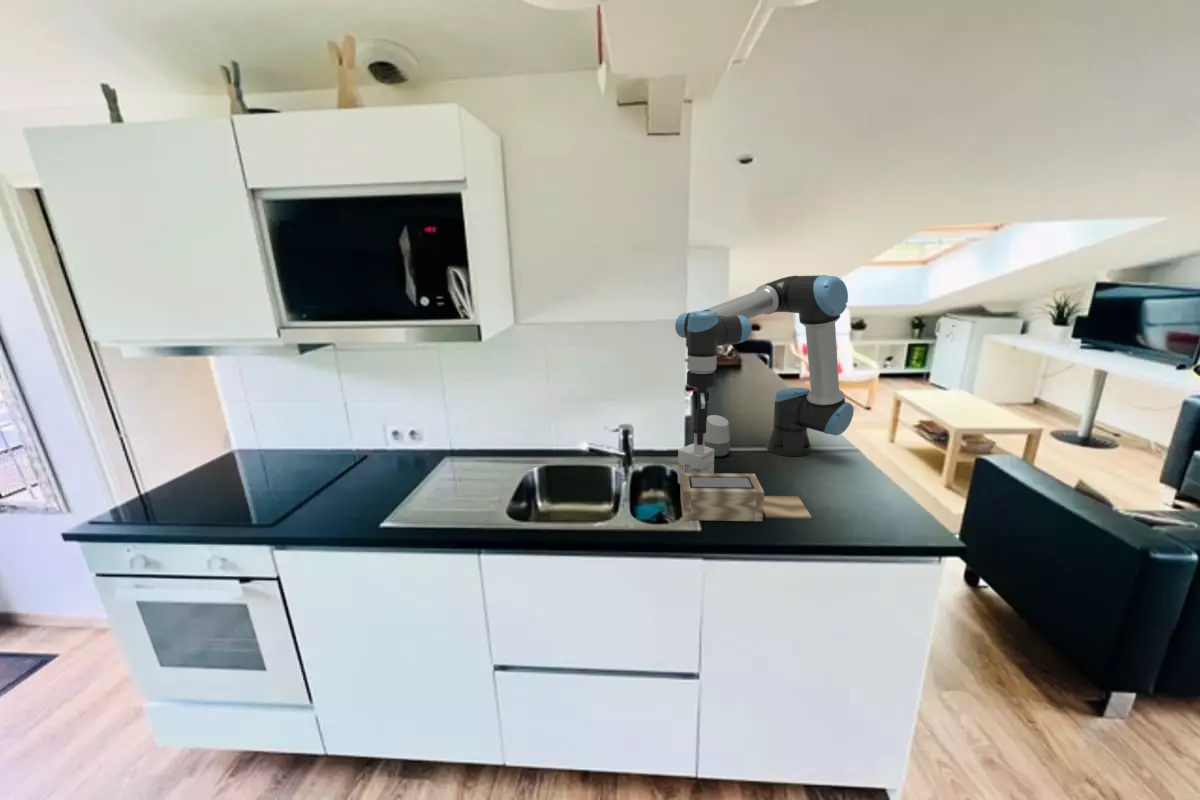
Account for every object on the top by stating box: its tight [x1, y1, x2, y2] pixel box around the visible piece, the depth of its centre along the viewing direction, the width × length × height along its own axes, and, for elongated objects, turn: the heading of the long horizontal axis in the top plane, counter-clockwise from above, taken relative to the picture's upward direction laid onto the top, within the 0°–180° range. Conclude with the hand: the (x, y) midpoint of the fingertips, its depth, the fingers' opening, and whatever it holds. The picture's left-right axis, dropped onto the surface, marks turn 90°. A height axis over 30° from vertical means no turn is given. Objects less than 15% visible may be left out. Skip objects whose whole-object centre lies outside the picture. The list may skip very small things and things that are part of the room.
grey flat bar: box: [690, 477, 752, 489], centre depth 136 cm, size 16×6×2 cm, turn 85°
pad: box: [763, 495, 812, 519], centre depth 138 cm, size 12×12×1 cm
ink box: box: [677, 442, 715, 485], centre depth 154 cm, size 9×8×12 cm
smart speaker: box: [705, 414, 731, 458], centre depth 177 cm, size 10×9×14 cm
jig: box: [680, 472, 765, 522], centre depth 137 cm, size 21×12×9 cm, turn 85°
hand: (698, 454), depth 134 cm, fingers closed
